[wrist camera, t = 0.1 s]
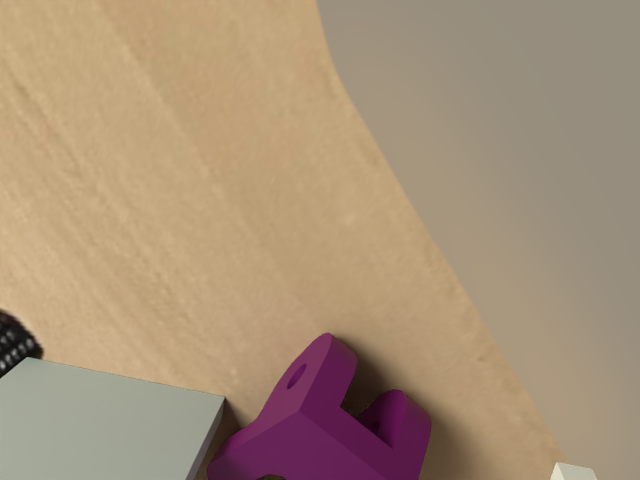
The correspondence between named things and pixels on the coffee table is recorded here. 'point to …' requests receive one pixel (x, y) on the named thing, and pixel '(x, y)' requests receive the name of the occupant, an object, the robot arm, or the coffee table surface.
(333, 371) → the mounting bracket
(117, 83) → the coffee table surface
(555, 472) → the robot arm
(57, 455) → the wall board
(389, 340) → the coffee table surface
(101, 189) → the coffee table surface
